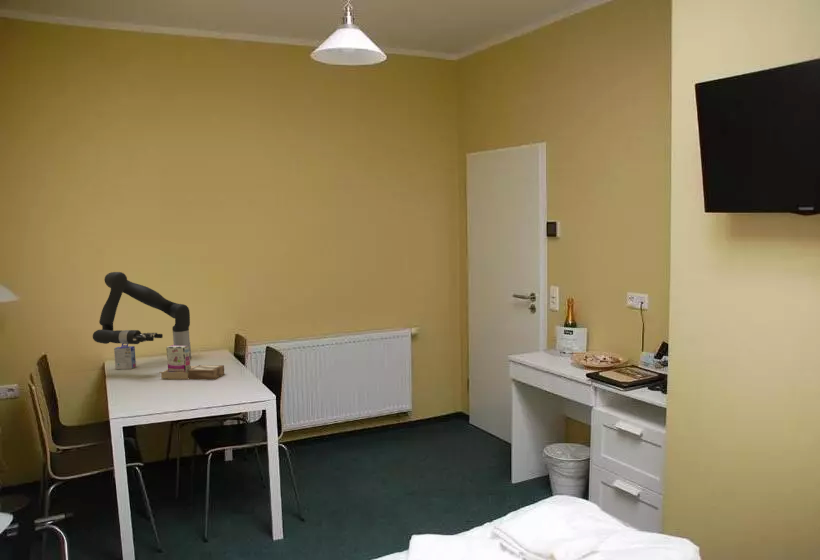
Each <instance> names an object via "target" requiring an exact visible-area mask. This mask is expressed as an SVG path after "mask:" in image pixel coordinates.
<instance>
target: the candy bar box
mask: <svg viewBox="0 0 820 560" xmlns="http://www.w3.org/2000/svg"><path fill="white" fill-rule="evenodd" d="M166 359H167V361H166V362H167V370H168V372H186V373H188V370H190V369H191V366H192V365H191V358H190V352H189V346H176V345H174V344H171V345H168V346H166Z"/></svg>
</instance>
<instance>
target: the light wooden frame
mask: <svg viewBox="0 0 820 560" xmlns="http://www.w3.org/2000/svg"><path fill="white" fill-rule="evenodd" d="M190 366H191V369H192V368H194V367H197V366H198V365H190ZM159 373H160V374H161V376H160V377H161V379H162V378H168V380H171V379H174V380H176V379H177V380H189V379H188V378H189V374H188V373H186V372H168V369H166V370H164V371H159Z"/></svg>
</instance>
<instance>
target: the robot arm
mask: <svg viewBox="0 0 820 560" xmlns="http://www.w3.org/2000/svg"><path fill="white" fill-rule="evenodd" d="M104 284H105V285H106V286H107V287H108V288H109V289H110V291H109V295H108V298H107V300H106V302H105V304H104V305H103V307H102V309H101V312H100V316H99V321H98V322H99V323H98V324H99V325H100V326H101V329H96V330H95V331H94V332H93V333H92V339H93V341H94V342H95V343H98V344H106V345H107V344H110V343H111V344H121V345H122V344H123V345H127V344H128V345H139V344H140V343H144V342H154V341H155V339H163V333H158V332H141V331H140V330H138V329H125V330H124V329H123V330H120V329H119V330H118V329H117V330H114V322H115V317H116V313H117V310H118V306H119V303H120V300H121V298H122V295H123V293H124V294H126V295H127V296H129V297H131V298H133V299H135V300H136V301H138V302H140V303H142V304H144V305H146V306H149V307H151V308H153V309H156V310H159V311H161V312H162V313H165V314H166V315H168V316H169V317H170V318H173V319H174V325H173V326H172V341H173V344H172V345H176V346H189V352H190V359H191V358H192V351H191V350H192V349H191V340H190V326H191V319H190V318H191V317H190V315H191V314H190V309H189V308H190V307H188V305H186V304H183V303H178V302H177V303H176V302H174V301H172V300H169V299H167V298H165V297H164V296H163V295H162V294H160V293H159V292H158V291H156V290H155V289H153V288H150V287H148V286H146V285H143V284H139V283H137V282H132V281H130V280H128V276H127V275H126V274H125V273H124V272H122V271H121V272H120V271H113V272H112V271H111V272H109V273H107V274H106V275H104Z"/></svg>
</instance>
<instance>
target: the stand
mask: <svg viewBox="0 0 820 560" xmlns="http://www.w3.org/2000/svg"><path fill="white" fill-rule="evenodd" d="M196 366H197V367H194V368H192V369H190V370H188V374H189V379H188V380H190V379H215V378H216V379H218V378H220V377H222V376H224V375H225V365H222V364H221V365H220V364H219V365H218V364H215V365H214V364H198V365H196ZM223 374H224V375H223ZM221 375H222V376H221ZM219 376H220V377H219ZM217 377H218V378H217ZM216 379H215V380H216Z"/></svg>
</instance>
